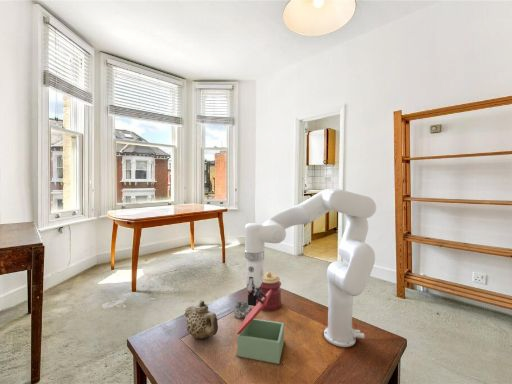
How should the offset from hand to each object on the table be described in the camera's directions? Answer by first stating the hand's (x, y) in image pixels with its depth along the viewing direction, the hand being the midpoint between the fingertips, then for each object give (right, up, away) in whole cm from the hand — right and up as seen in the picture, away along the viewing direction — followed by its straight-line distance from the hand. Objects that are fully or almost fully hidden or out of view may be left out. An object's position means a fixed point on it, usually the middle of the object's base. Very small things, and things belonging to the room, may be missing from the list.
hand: (254, 300), depth 95 cm
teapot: (-22, -18, +7) cm, 30 cm away
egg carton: (-6, -18, +26) cm, 32 cm away
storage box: (+3, -19, 0) cm, 19 cm away
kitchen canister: (+7, -18, +34) cm, 39 cm away
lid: (+1, -4, 0) cm, 4 cm away
